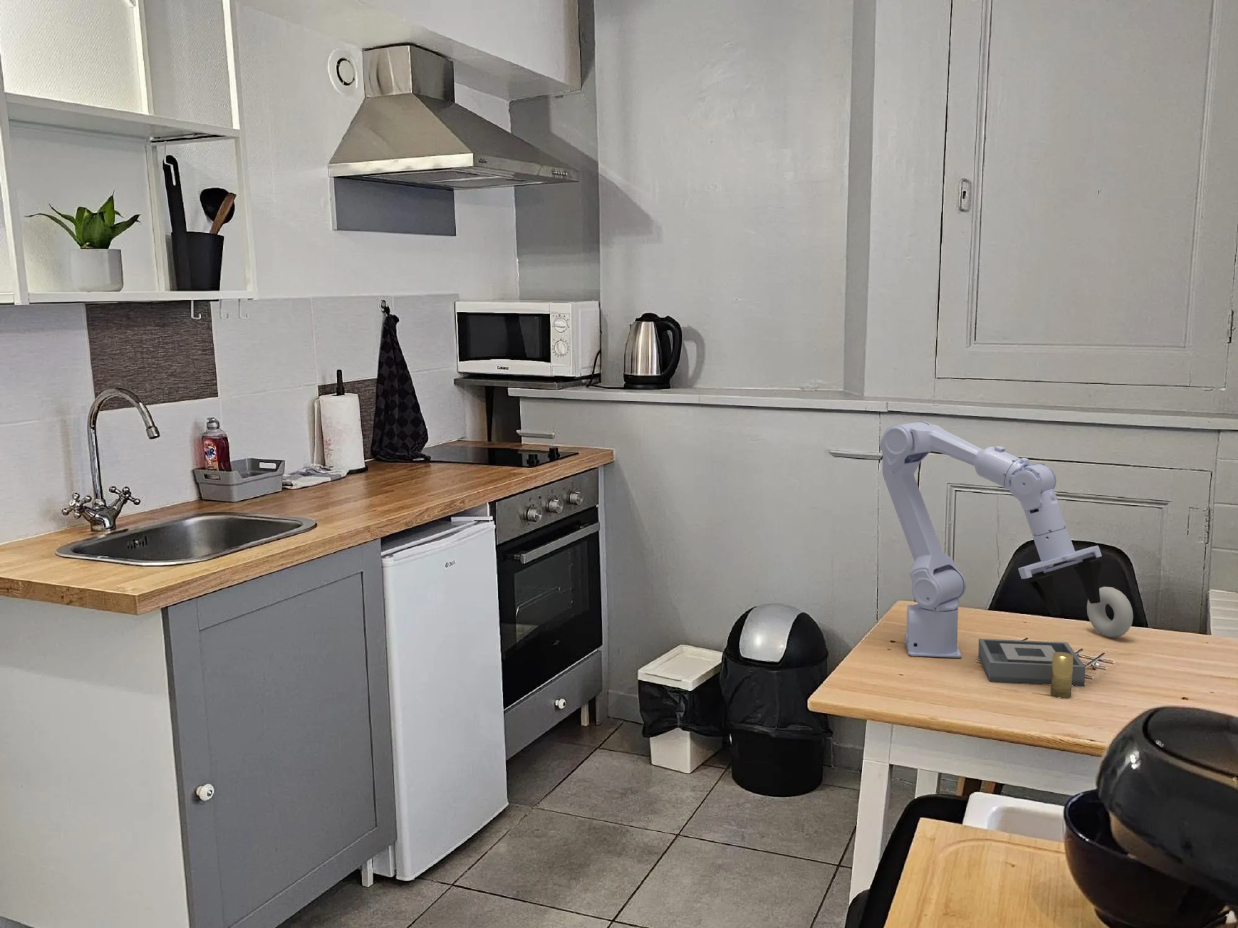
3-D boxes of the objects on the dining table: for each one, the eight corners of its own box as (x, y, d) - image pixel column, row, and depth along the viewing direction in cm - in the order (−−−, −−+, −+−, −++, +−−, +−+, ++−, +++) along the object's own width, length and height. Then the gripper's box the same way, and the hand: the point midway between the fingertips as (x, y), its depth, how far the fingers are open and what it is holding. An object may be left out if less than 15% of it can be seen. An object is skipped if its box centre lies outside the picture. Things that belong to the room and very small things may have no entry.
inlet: (1007, 672, 186) (1007, 659, 186) (998, 656, 195) (999, 643, 195) (1061, 675, 185) (1062, 661, 184) (1050, 658, 193) (1051, 645, 193)
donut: (1081, 630, 213) (1084, 582, 211) (1094, 628, 214) (1096, 580, 213) (1122, 644, 204) (1125, 594, 202) (1135, 642, 205) (1138, 592, 203)
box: (989, 681, 185) (990, 662, 184) (978, 656, 198) (978, 638, 197) (1084, 686, 182) (1085, 666, 181) (1066, 660, 195) (1067, 642, 195)
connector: (1052, 697, 177) (1054, 657, 176) (1048, 691, 180) (1050, 651, 179) (1073, 698, 176) (1075, 658, 175) (1068, 691, 179) (1070, 652, 178)
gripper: (1024, 540, 177) (1050, 619, 175) (1099, 518, 180) (1127, 596, 178) (1003, 545, 184) (1029, 621, 182) (1077, 523, 186) (1102, 598, 185)
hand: (1076, 608), depth 180 cm, fingers open, 7 cm apart
